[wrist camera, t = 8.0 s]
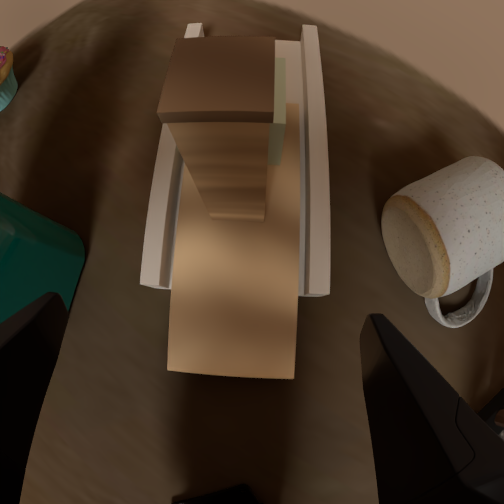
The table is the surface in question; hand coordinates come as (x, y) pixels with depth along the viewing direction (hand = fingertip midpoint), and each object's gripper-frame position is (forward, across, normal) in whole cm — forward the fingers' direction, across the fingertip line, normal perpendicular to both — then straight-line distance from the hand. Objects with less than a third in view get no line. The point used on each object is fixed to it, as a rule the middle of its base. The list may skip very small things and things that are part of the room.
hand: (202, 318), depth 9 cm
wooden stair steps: (+12, 0, +4) cm, 13 cm away
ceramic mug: (+12, -15, +6) cm, 20 cm away
